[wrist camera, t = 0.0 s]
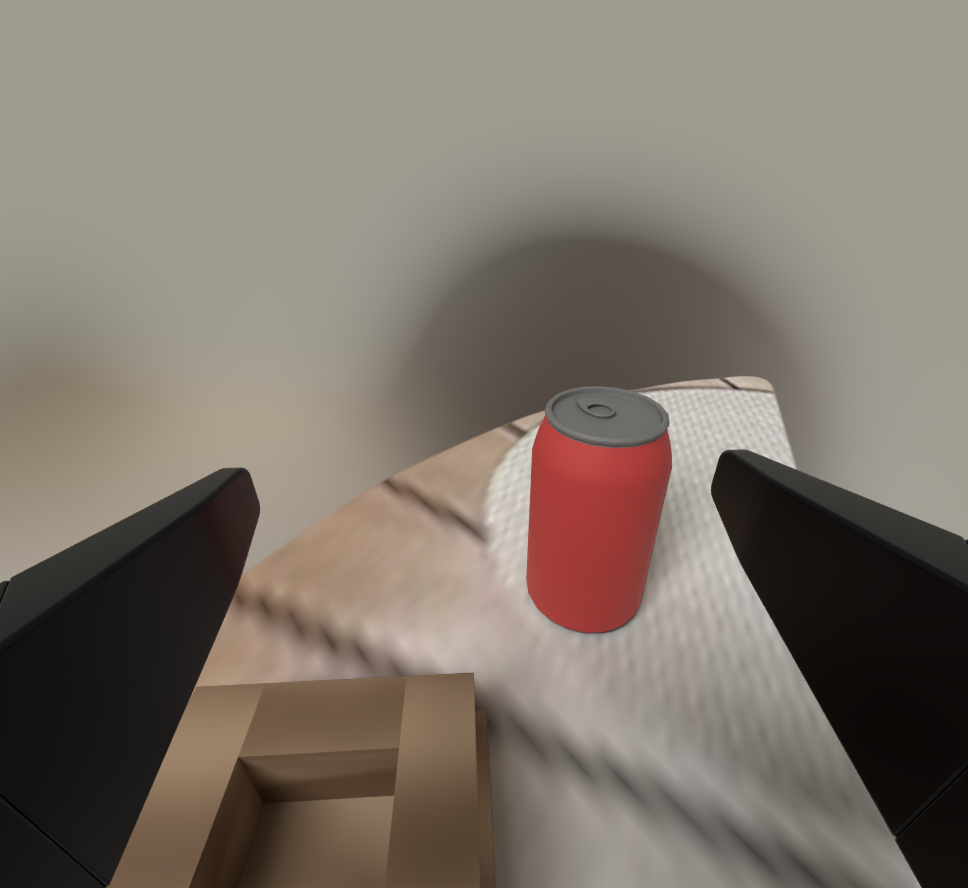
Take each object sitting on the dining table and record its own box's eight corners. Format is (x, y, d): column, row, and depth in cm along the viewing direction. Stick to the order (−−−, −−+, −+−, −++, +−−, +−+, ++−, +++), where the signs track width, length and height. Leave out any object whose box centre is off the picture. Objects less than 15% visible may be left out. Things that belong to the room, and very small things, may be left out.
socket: (511, 1227, 11) (515, 1227, 9) (-10, 1273, 11) (-134, 1286, 9) (486, 716, 21) (485, 660, 19) (220, 730, 21) (190, 675, 19)
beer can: (588, 539, 31) (610, 372, 25) (664, 608, 26) (715, 421, 20) (505, 576, 29) (507, 399, 23) (572, 660, 24) (599, 463, 18)
